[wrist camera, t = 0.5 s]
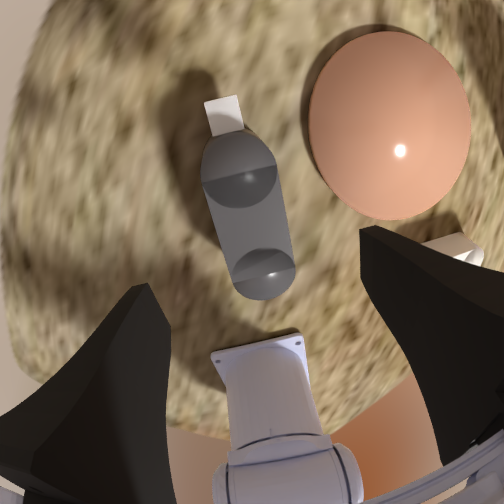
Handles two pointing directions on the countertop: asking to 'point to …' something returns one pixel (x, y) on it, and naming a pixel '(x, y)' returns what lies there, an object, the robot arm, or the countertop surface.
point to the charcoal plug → (246, 204)
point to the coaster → (389, 125)
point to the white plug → (457, 248)
